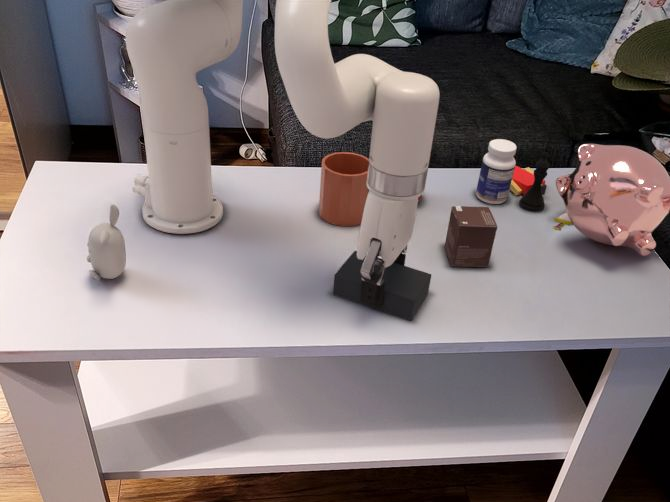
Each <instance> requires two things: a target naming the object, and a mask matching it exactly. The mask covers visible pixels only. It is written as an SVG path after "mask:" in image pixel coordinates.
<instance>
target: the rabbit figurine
mask: <svg viewBox="0 0 670 502" xmlns="http://www.w3.org/2000/svg"><path fill="white" fill-rule="evenodd" d="M119 218H120V209H119V207H118V206H117V205H115V204H114V203H112V204H111V205H110V209H109V223H108V222H102V223H101V222H100V223H98V224H96V225H94V227H92V229H91V230H90V231H89V233H88V238H87V244H86V245H87V247H88V255H87V256H86V261H87V262H88V263H90V265H91V267H92V269H89V270H88V272H89V274H90V276H91V277H93V279H95V280H96V281H100V280H102V278H104V279H107V280H114V279H115V278H118V277H119V276H121V274H123V272H124V271H125V269H126V264H127V251H126V243H125V238H124V235H123V233H122V231H121V230H120V229H119V228H118V227H117V226H115V225H116V224H117V223H118V221H119Z"/></svg>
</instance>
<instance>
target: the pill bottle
mask: <svg viewBox="0 0 670 502" xmlns="http://www.w3.org/2000/svg"><path fill="white" fill-rule="evenodd" d="M517 148H518V147H517V145H516V143H514V142H513V141H511V140H508V139H503V138H496V139H495V138H494V139H492V140H490V141H489V143H488V146H487V151H488V152H486V153H485V154H484V156H483V157H482V161H481V167H480V171H479V175H478V180H477V184H476V189H475V195H476V197H477V198H478V199H479V200H480V201H482V202H484V203H487V204H491V205H500V204H503V203H505V202H506V201H507V200H508V197H509V193H510V191H511V190H510V185H511V181H512V177H513V173H514V169H515V166H517V165H516V164H517V163H516V162H517V161H516V159H515V157H514V156H515V155H516V153H517Z"/></svg>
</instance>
